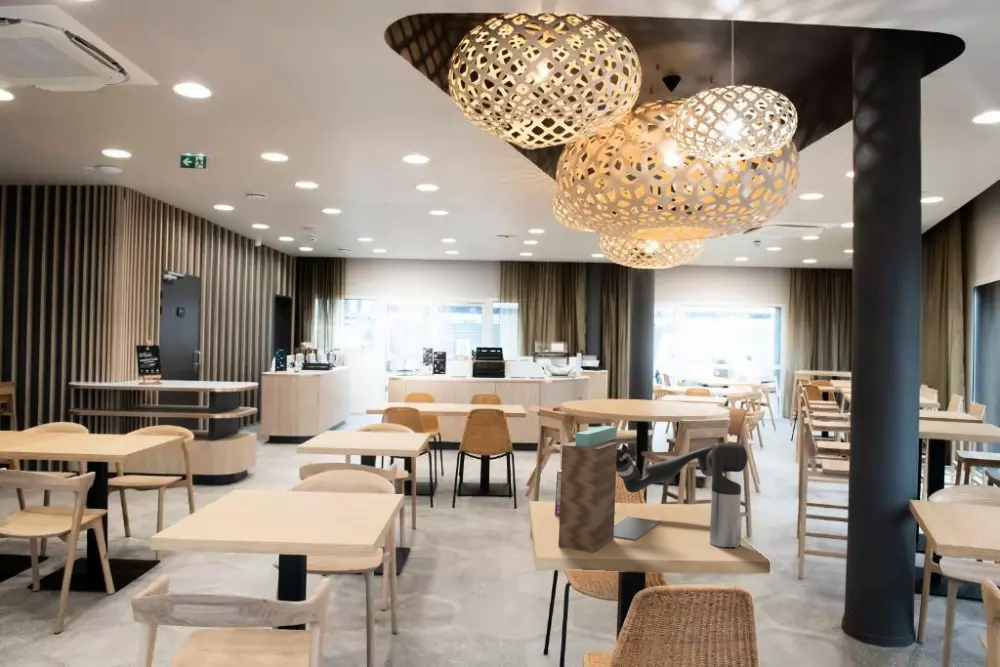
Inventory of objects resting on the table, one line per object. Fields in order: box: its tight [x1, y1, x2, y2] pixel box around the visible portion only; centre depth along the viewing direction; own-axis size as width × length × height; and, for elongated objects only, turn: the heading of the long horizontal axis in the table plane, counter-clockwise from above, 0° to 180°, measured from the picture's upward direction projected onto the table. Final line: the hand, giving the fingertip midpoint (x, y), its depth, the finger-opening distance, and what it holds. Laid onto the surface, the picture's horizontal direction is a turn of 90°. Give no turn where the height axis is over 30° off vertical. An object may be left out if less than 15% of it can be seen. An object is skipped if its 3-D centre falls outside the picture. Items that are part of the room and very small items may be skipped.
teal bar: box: [575, 425, 618, 447], centre depth 239 cm, size 4×28×4 cm, turn 152°
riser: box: [558, 440, 618, 553], centre depth 234 cm, size 12×18×32 cm, turn 152°
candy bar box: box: [554, 469, 561, 516], centre depth 272 cm, size 11×5×16 cm, turn 84°
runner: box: [614, 516, 661, 542], centre depth 255 cm, size 12×30×1 cm, turn 152°
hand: (611, 445), depth 252 cm, fingers open, 8 cm apart
